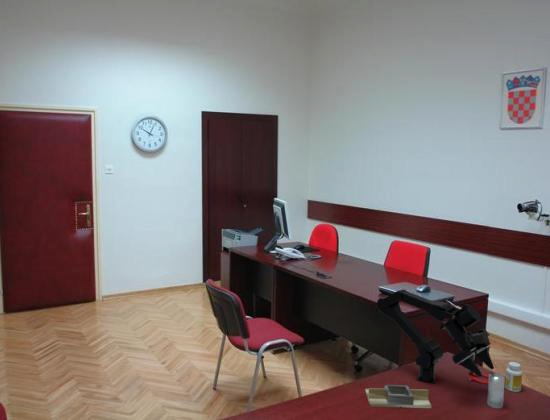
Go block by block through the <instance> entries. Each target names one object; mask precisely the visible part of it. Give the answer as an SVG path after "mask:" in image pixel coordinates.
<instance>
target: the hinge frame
mask: <svg viewBox="0 0 550 420" xmlns="http://www.w3.org/2000/svg"><path fill="white" fill-rule="evenodd" d="M364 390H365V391H364V392H365V394H366V398H367V400H368V403H369V407H370V408H373V407H374V408H400V407H401V408H402V409H403V408H406V409H407V408H408V409H410V408H411V409H432V404H431V403H430V400H429V389H424V388H423V389H420V388H419V389H417V388H414V389H413V388H410V387H409V386H408V385H404V384H403V385H402V384H384V385H383V388H381V387H379V388H378V387H368V388H365V389H364Z"/></svg>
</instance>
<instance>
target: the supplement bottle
mask: <svg viewBox="0 0 550 420" xmlns="http://www.w3.org/2000/svg"><path fill="white" fill-rule="evenodd" d="M522 379H523V371H522V370H521V364H520V363H519V362H514V361H510V362H508V367H507V368H506V370H505V381H504V388H505V389H506V390H508V391H511V392H515V393H518V392H521V391H522V381H523V380H522Z"/></svg>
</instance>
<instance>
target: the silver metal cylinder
mask: <svg viewBox="0 0 550 420" xmlns="http://www.w3.org/2000/svg"><path fill="white" fill-rule="evenodd" d="M488 375H489V379H488V381H489V384H487V385H488V387H487V401H486V403H487V405H488V406H489V407H491V408H493V409H502V408H503V407H504V396H505V395H504V394H505V381H506V376H504V375H502V374H500V373H498V372H497V373H496V372H491V373H489V374H488Z"/></svg>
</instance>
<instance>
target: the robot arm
mask: <svg viewBox="0 0 550 420" xmlns="http://www.w3.org/2000/svg"><path fill="white" fill-rule="evenodd" d="M401 302H402V303H405V304H407V305H410V306H412V307H415V308H417V309H420V310H422V311H424V312H426V313H427V314H428V315H429V316H430V317H431V318H433V319H434V320H437V321H441V322H440V327H439V330H440V331H441V330H444V329H445V330H446V331H447V332H448V333H449V336H450V337H452V339H453V340H452V343H453V344H454V345H455V344H456V345H457V346H458V348H459V349H460V350H459V351H458V352H457V353H455V354H453V355H452V361H453V362H454V364H455V365H457V364H458V365H459V366H462V367H463V368H465V369H467V370H468V371H469V370H470V371H471V372H473V373H475V374H476V375H478V376H477V377H479V378H480V377H483V376H482V373H483V372H481V370H480V368H479V367H478V365H477V364H476V362H475V357H477V358H478V359H479V360H480V361H482V363H484V365H485V366H487V367H488V369H490V370H493V369H495V365H494V364H493V361H492V358H491V355H490V348H491V344H492V343H491V342H490V338H489V336H490V333H489V332H488V331H487V330H486V329H485V328H480V329H479V330H478V332H476V333H473V332H472V331H470V330H469V331H467V329H466V328H469V327H471V326H472V325H474V324H475V323H477V322H478V321H480V320H481V314H480V312H479V311H478V309H475V308H474V307H473V306H471V305H469V303H467V304H464V305H463V306H462V307H461V308H460V309H459V308H456V307H454V306H452V305H451V303H449V302H446V301H445V302H444V301H439V300H430V299H428V298H425V297H423V296H420V295H417V294H415V293H412V292H409V291H408V290H406V289H400V290H397V291H395V292H394V293H392V294H389V295H387V296H384V297H380V298H378V299H377V301H376V308H377V310H378V311H379V312H380V313H382V314H383V315H384V316H386V317H387V318H388V317H389V318H391V319H392V320H393V322H395V324H396V325H397V326H398V327H399V328H400V329H401V330H402V331H403V332H404V334H405V335H406V336H407V337H408V338H409V339H410V341H412V343H413V344H414V345H415V346H416V349H417V352H418V355H419V356H418V357H416V358H415V359H414V361H415V364H416V365H417V366H419V372H418V374H417V379H416V380H417V381H420V382H425V383H426V382H427V383H432V384H436V383H435V382H436V378H437V377H436V375H435V372H436V371H435V369H436V363H438V362H439V361H440V360H441V359H442V358H443V356H444V351H443V349H442V345H441V344H439V343H438V342H437V341H436V339H435V338H431V339H429V338H427V337H426V336H425V335H424V334H423V333H422V331H420V329H419V328H418V327H416V325H414V323H413V321H411V320H410V319H409V318H408V317H407V316H406V314H405V313H404V312H403V311H402V309H401V305H400V303H401ZM444 320H446V321H444ZM472 353H475V357H474V355H472ZM471 355H472V356H471Z"/></svg>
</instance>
